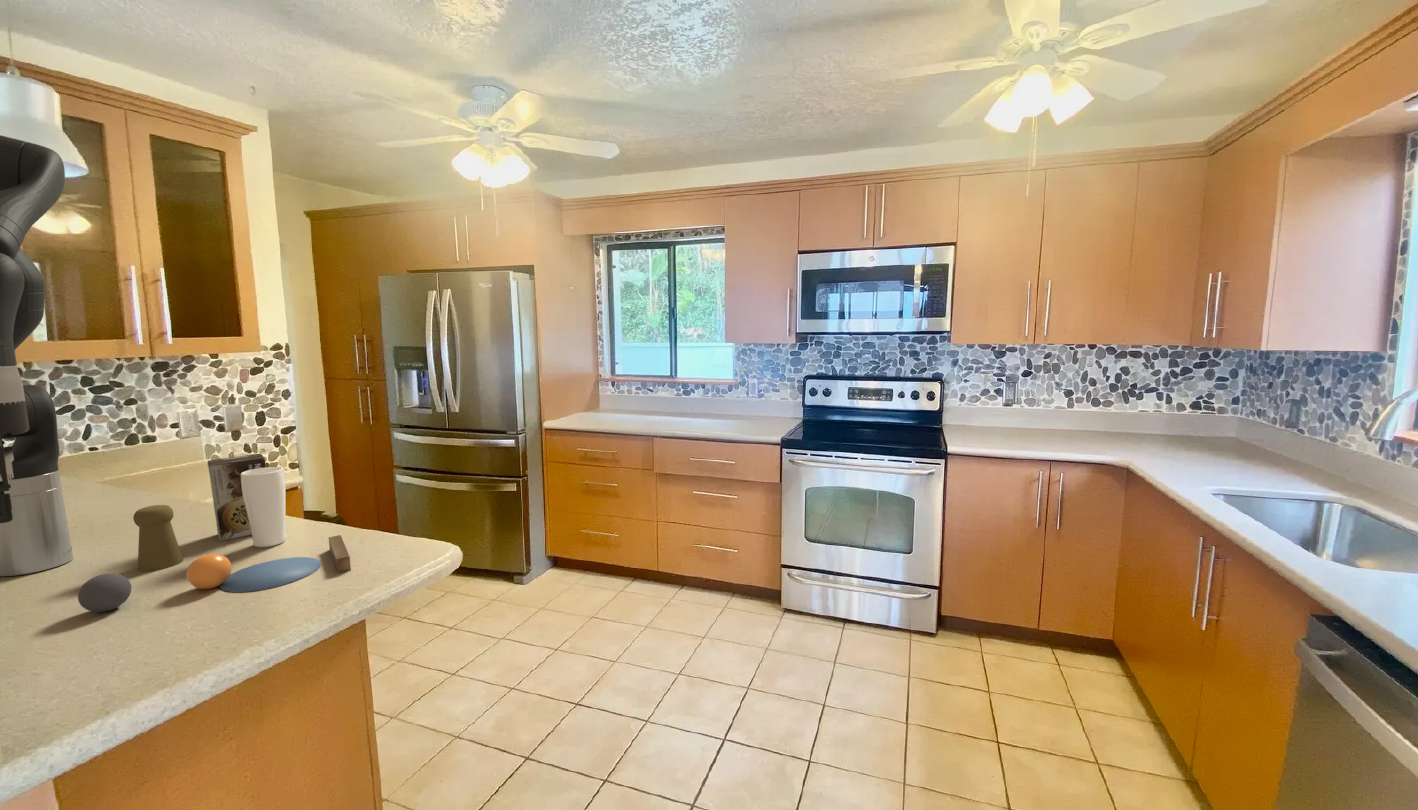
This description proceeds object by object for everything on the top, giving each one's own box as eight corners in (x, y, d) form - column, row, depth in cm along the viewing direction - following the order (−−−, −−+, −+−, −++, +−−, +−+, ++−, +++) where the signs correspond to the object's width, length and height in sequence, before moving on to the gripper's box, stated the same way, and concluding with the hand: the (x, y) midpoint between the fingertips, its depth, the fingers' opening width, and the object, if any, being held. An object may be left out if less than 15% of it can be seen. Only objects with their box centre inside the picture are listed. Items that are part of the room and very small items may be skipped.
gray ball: (76, 622, 83) (70, 586, 82) (85, 608, 87) (80, 574, 86) (130, 610, 86) (125, 575, 85) (136, 597, 90) (131, 564, 90)
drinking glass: (298, 540, 115) (290, 468, 113) (261, 551, 109) (252, 476, 107) (279, 535, 118) (271, 465, 116) (241, 546, 112) (232, 473, 110)
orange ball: (187, 598, 90) (182, 564, 89) (190, 586, 94) (186, 554, 94) (233, 588, 93) (228, 555, 93) (234, 577, 98) (230, 546, 97)
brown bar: (337, 572, 99) (336, 559, 99) (329, 549, 110) (328, 537, 110) (350, 569, 100) (349, 556, 100) (341, 547, 111) (340, 535, 111)
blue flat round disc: (217, 600, 89) (217, 599, 89) (221, 572, 100) (221, 570, 100) (323, 576, 98) (323, 574, 98) (317, 552, 109) (317, 551, 109)
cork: (154, 572, 100) (146, 512, 99) (128, 570, 101) (119, 510, 100) (191, 559, 106) (184, 502, 105) (166, 557, 107) (158, 500, 106)
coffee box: (270, 523, 126) (262, 452, 124) (274, 530, 121) (266, 457, 119) (216, 534, 120) (206, 459, 118) (219, 541, 115) (209, 464, 113)
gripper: (26, 400, 75) (44, 519, 76) (23, 396, 83) (40, 503, 85) (-70, 406, 69) (-48, 535, 70) (-62, 401, 78) (-43, 516, 79)
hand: (0, 517), depth 78 cm, fingers open, 8 cm apart
